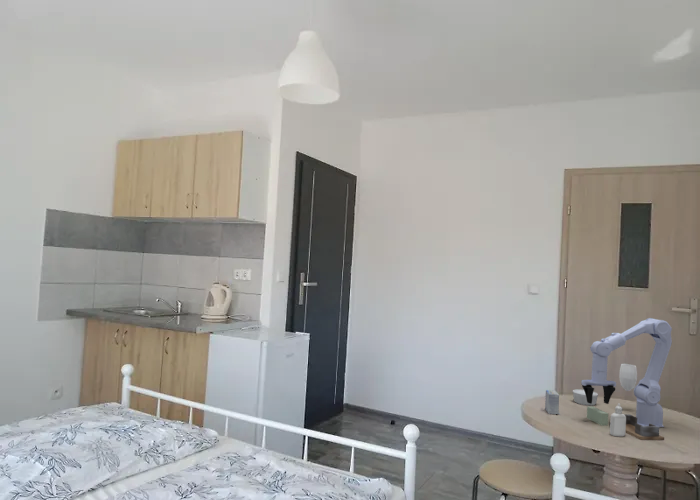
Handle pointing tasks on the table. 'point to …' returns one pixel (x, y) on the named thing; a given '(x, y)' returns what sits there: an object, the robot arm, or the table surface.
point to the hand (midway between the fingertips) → (597, 403)
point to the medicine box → (552, 402)
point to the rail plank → (597, 415)
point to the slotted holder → (641, 429)
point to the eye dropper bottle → (618, 422)
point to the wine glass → (628, 376)
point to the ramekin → (584, 397)
